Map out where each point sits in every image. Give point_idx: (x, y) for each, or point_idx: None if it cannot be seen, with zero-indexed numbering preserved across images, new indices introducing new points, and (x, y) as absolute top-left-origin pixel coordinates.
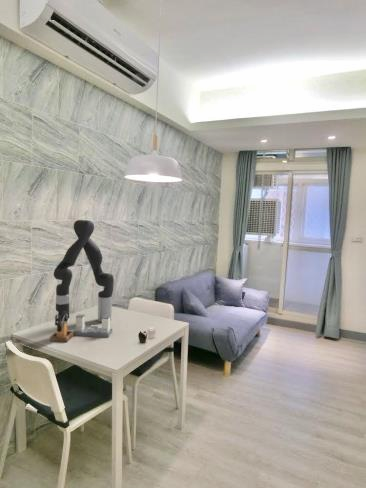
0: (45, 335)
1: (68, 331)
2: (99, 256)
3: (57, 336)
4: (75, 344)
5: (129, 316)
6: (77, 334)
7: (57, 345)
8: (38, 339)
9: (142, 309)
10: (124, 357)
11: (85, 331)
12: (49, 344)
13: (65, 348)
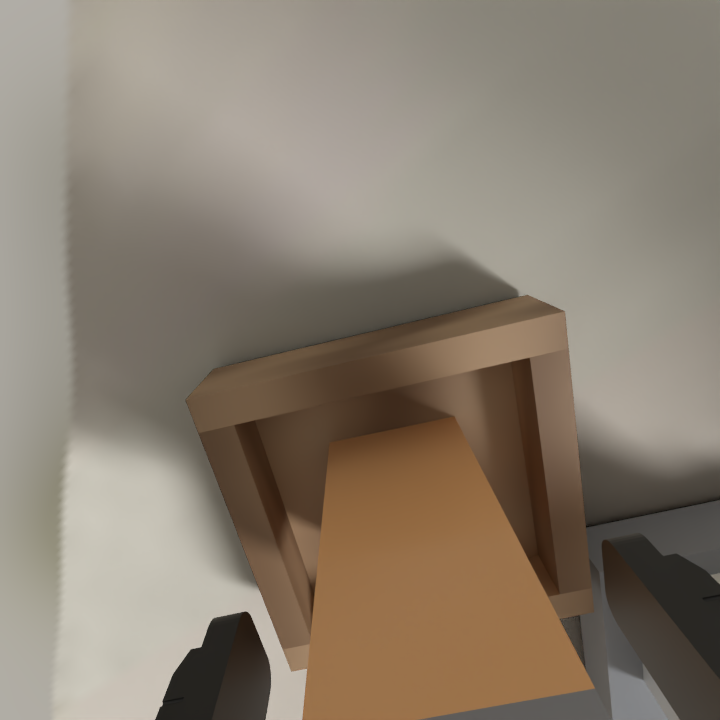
0: (422, 74)
1: (570, 536)
2: None
3: (388, 401)
4: (290, 711)
5: None
6: None
7: (149, 556)
8: (181, 92)
9: None
10: None
11: (665, 715)
12: (113, 438)
13: (130, 683)
